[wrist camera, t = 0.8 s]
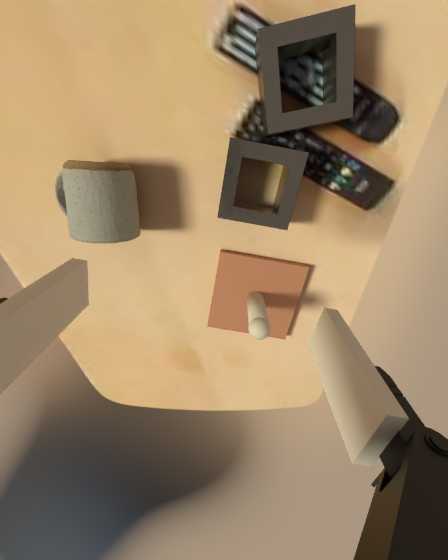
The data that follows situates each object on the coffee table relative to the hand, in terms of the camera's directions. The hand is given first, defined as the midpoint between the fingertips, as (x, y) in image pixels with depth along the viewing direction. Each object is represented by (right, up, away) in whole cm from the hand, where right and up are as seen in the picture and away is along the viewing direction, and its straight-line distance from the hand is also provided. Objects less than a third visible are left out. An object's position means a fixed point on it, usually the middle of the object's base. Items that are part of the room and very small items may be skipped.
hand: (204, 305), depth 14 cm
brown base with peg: (+6, -1, +23) cm, 24 cm away
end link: (+5, +13, +17) cm, 22 cm away
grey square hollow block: (+9, +22, +13) cm, 26 cm away
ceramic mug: (-14, +12, +18) cm, 26 cm away
